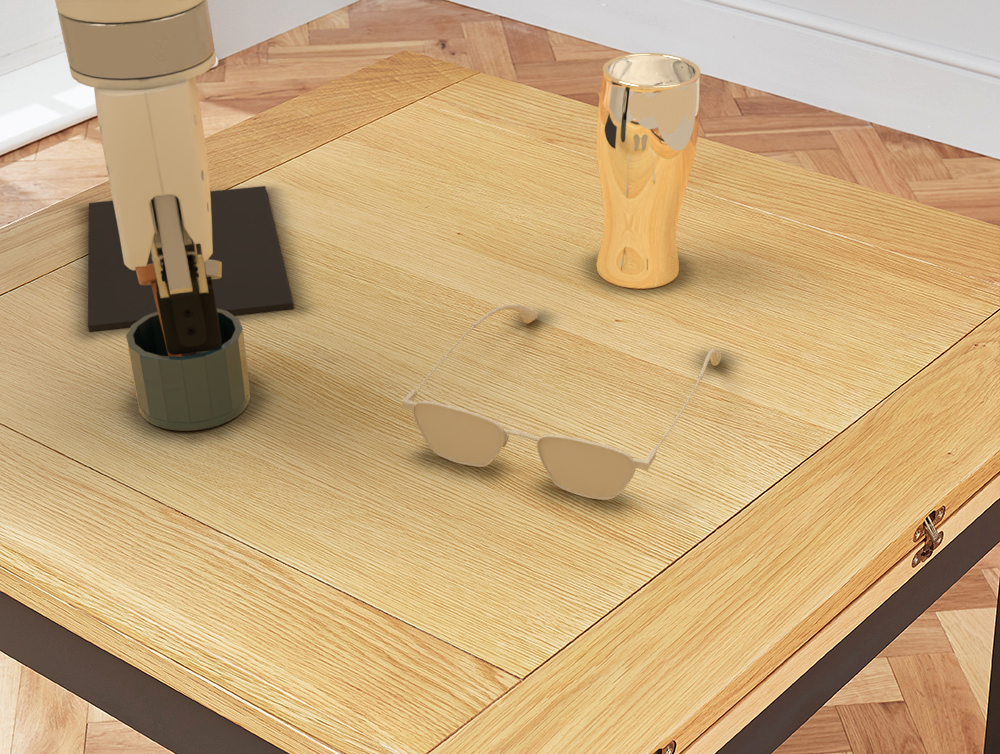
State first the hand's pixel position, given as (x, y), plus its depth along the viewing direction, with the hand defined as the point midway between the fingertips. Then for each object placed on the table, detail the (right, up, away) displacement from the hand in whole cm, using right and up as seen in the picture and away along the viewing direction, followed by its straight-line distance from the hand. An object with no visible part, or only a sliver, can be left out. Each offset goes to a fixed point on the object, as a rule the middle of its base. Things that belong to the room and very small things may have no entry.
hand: (194, 344), depth 81 cm
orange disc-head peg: (-1, -3, +3) cm, 4 cm away
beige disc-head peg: (0, -2, +4) cm, 4 cm away
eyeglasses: (+23, -3, +4) cm, 24 cm away
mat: (-5, +9, +20) cm, 23 cm away
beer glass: (+29, +8, +19) cm, 35 cm away
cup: (-1, -3, +4) cm, 5 cm away
